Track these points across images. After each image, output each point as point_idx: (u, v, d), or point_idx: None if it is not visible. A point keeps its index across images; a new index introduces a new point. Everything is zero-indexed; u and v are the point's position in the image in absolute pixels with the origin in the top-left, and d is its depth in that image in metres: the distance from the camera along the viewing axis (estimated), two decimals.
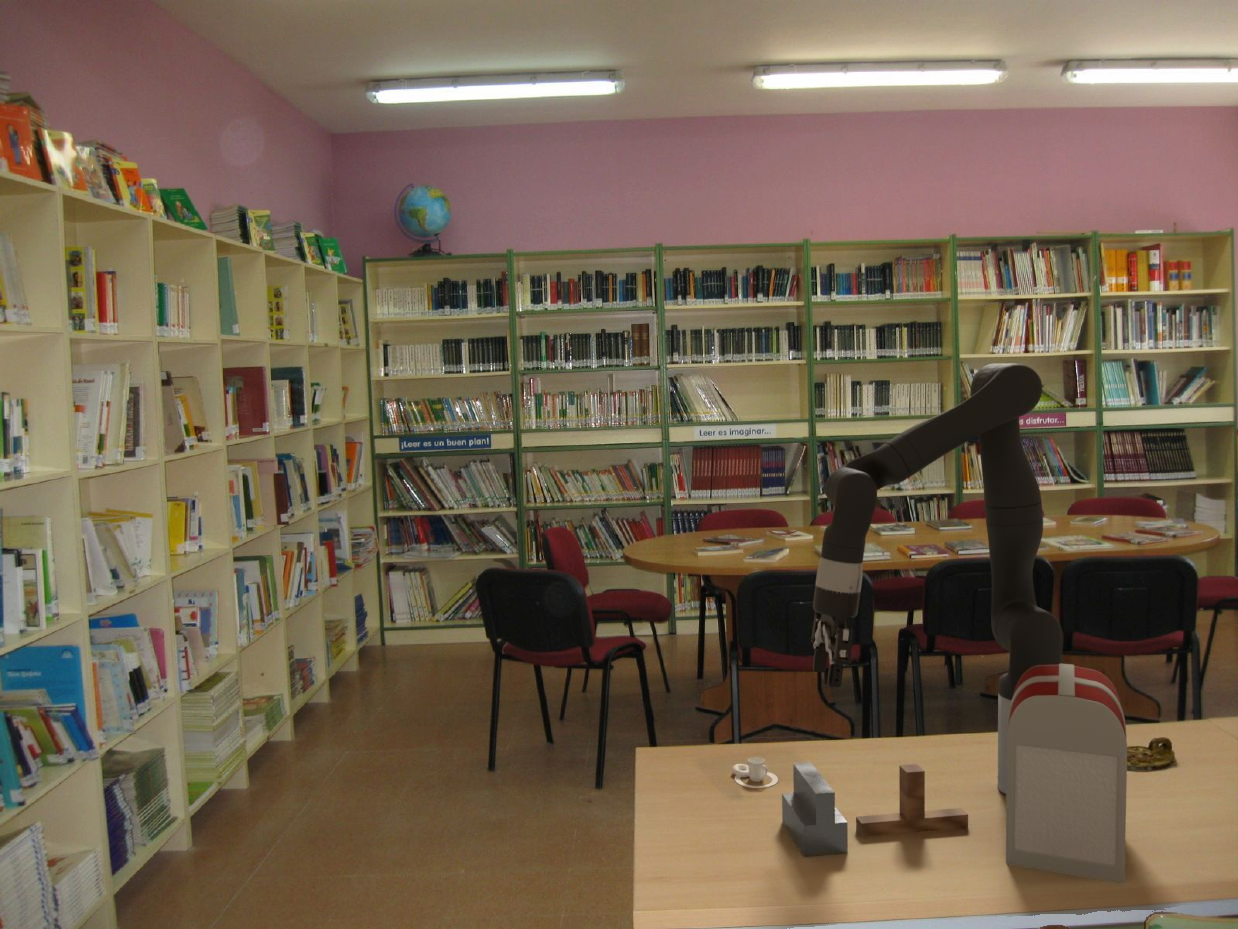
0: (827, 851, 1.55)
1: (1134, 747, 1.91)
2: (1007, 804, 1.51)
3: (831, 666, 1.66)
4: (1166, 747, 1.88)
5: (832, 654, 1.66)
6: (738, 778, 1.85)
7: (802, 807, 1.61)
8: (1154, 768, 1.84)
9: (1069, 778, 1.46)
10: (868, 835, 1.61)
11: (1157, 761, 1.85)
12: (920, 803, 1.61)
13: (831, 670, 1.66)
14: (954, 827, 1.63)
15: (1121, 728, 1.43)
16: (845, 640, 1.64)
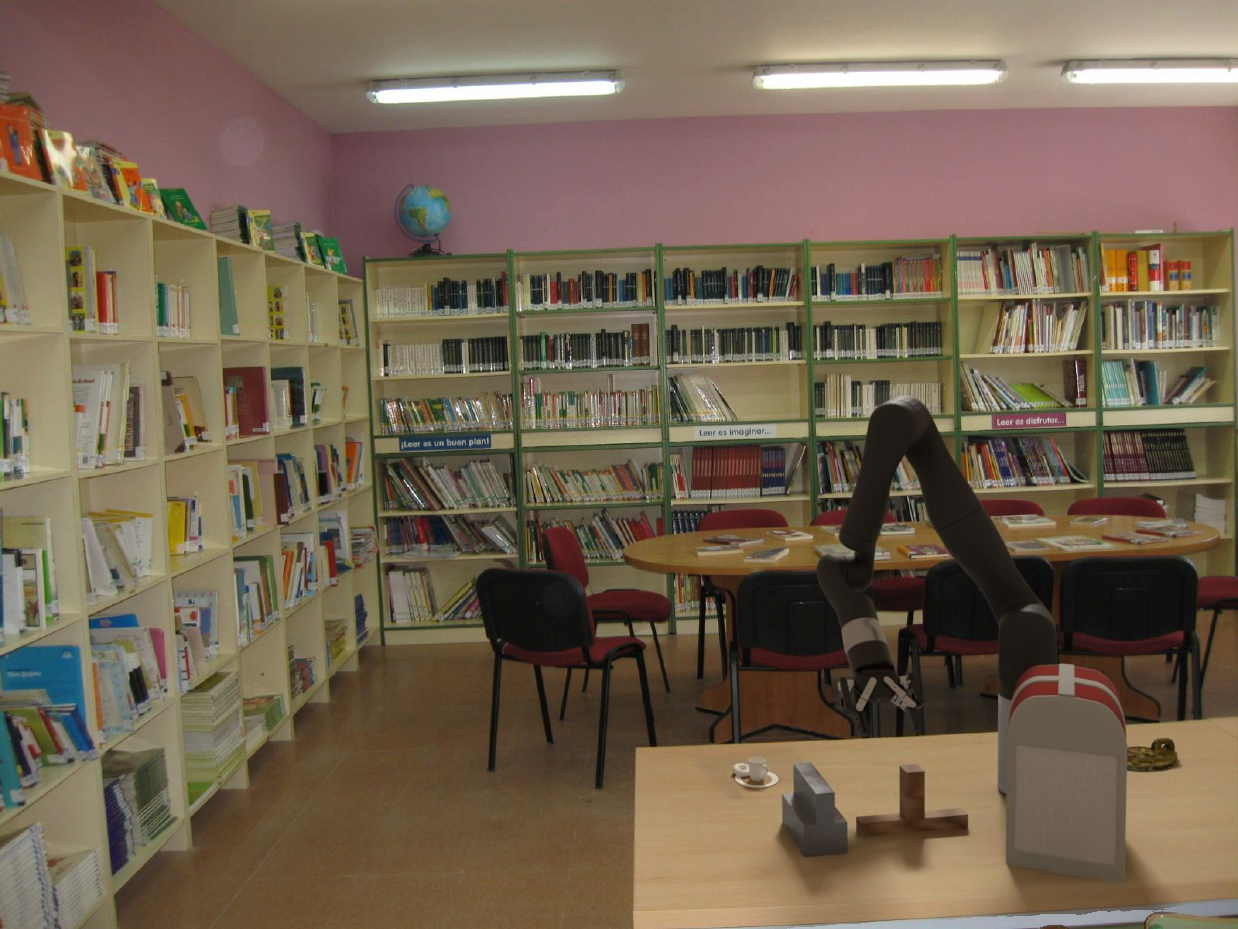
0: (827, 851, 1.55)
1: (1137, 747, 1.91)
2: (1007, 804, 1.51)
3: None
4: (1169, 748, 1.88)
5: None
6: (738, 778, 1.85)
7: (802, 807, 1.61)
8: (1155, 768, 1.83)
9: (1069, 778, 1.46)
10: (868, 835, 1.61)
11: (1159, 762, 1.85)
12: (920, 803, 1.61)
13: None
14: (954, 827, 1.63)
15: (1121, 728, 1.43)
16: (840, 689, 1.75)
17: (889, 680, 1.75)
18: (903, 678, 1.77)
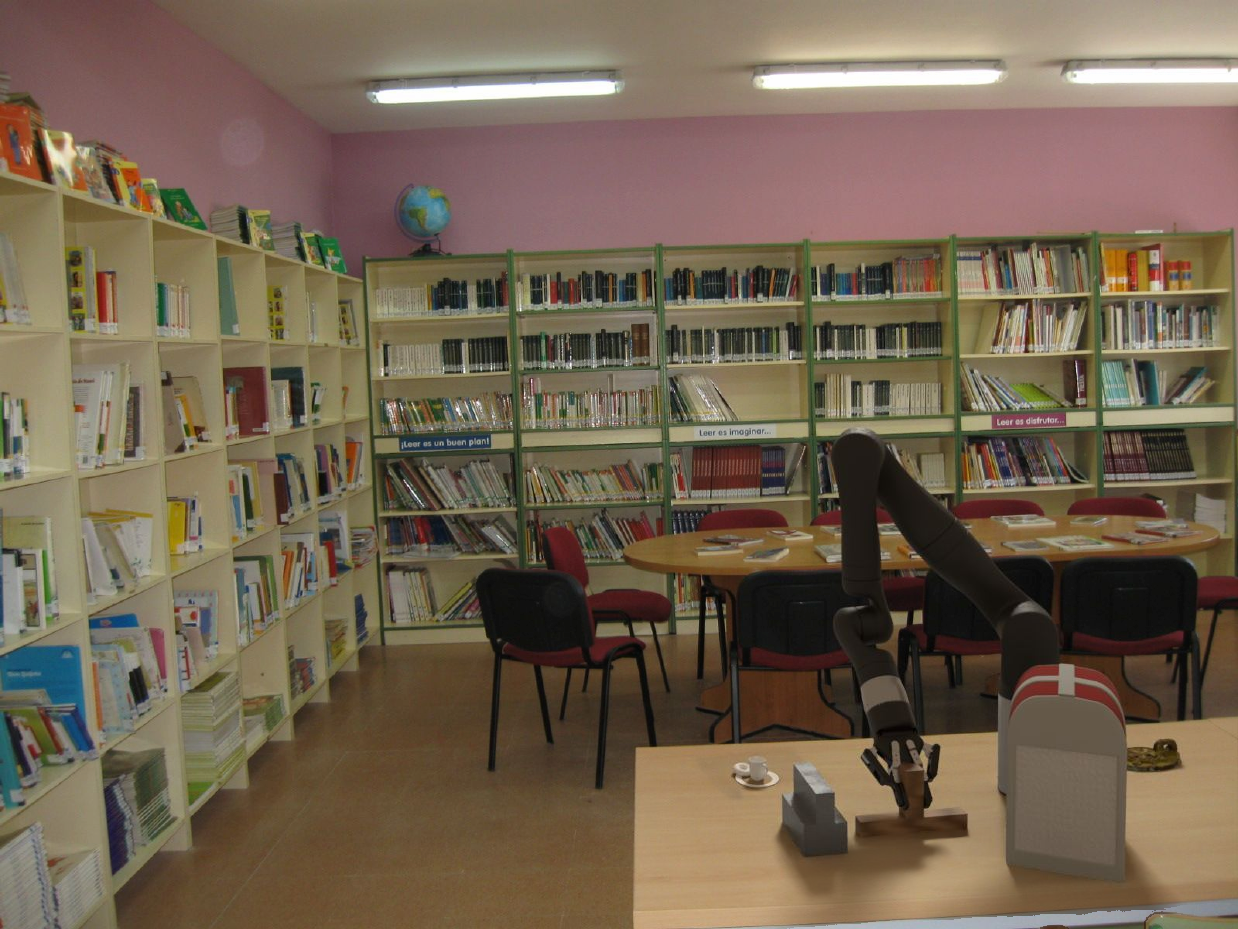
0: (827, 851, 1.55)
1: (1139, 748, 1.90)
2: (1007, 804, 1.51)
3: None
4: (1171, 748, 1.87)
5: None
6: (739, 777, 1.85)
7: (802, 807, 1.61)
8: (1157, 769, 1.83)
9: (1069, 778, 1.46)
10: (867, 834, 1.61)
11: (1160, 762, 1.84)
12: (919, 802, 1.61)
13: None
14: (953, 826, 1.63)
15: (1121, 728, 1.43)
16: (868, 762, 1.65)
17: (912, 745, 1.65)
18: (927, 746, 1.67)
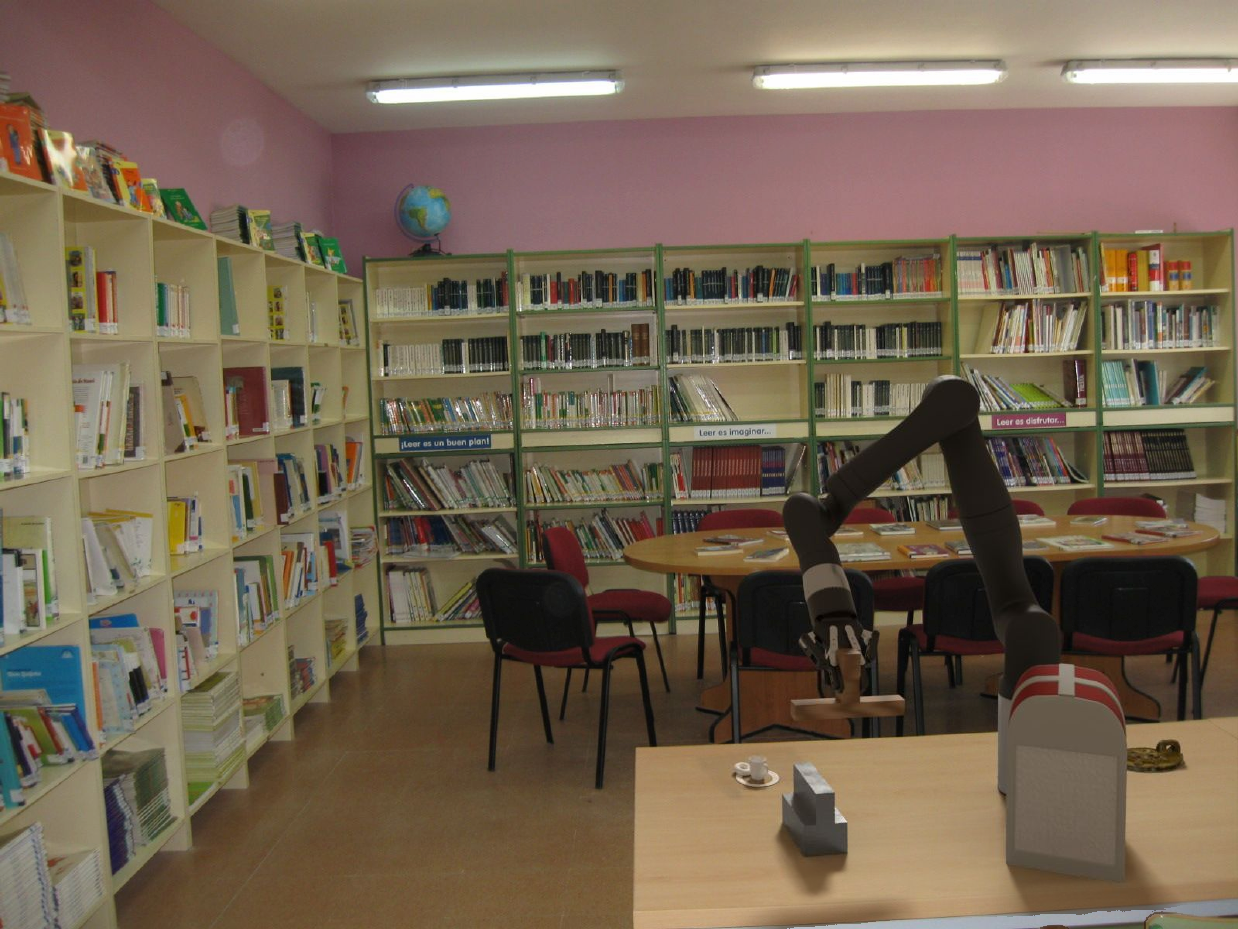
0: (827, 851, 1.55)
1: (1142, 748, 1.90)
2: (1007, 804, 1.51)
3: None
4: (1174, 749, 1.87)
5: None
6: (739, 777, 1.86)
7: (802, 807, 1.61)
8: (1158, 769, 1.83)
9: (1069, 778, 1.46)
10: (802, 717, 1.58)
11: (1162, 763, 1.84)
12: (856, 687, 1.58)
13: None
14: (890, 712, 1.60)
15: (1121, 728, 1.43)
16: (805, 646, 1.62)
17: (850, 630, 1.63)
18: (867, 632, 1.64)
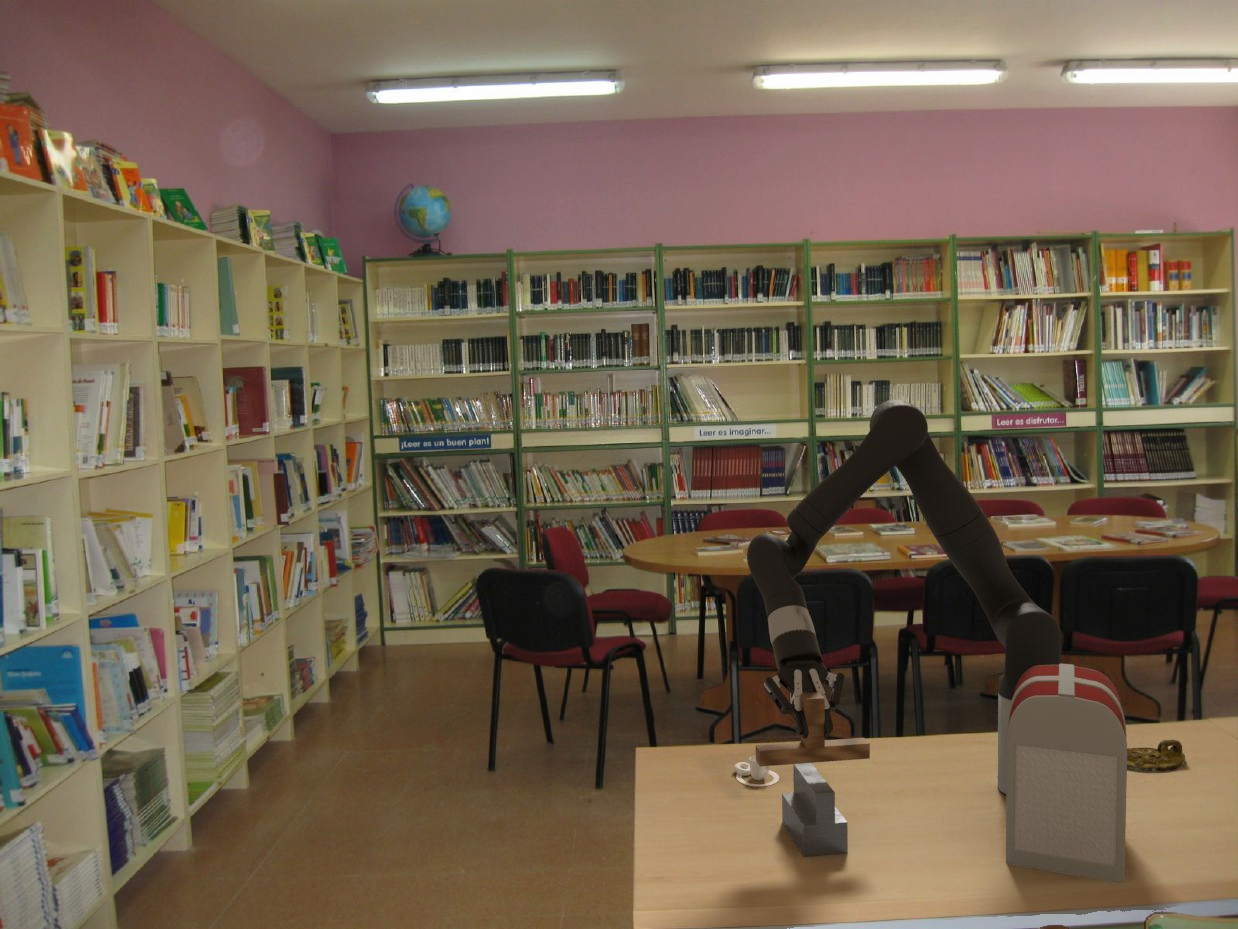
0: (827, 851, 1.55)
1: (1144, 748, 1.90)
2: (1007, 804, 1.51)
3: None
4: (1176, 750, 1.87)
5: None
6: (739, 776, 1.86)
7: (802, 807, 1.61)
8: (1159, 769, 1.83)
9: (1069, 778, 1.46)
10: (766, 763, 1.58)
11: (1163, 763, 1.84)
12: (820, 731, 1.58)
13: None
14: (855, 756, 1.60)
15: (1121, 728, 1.43)
16: (770, 691, 1.62)
17: (815, 673, 1.62)
18: (831, 675, 1.64)
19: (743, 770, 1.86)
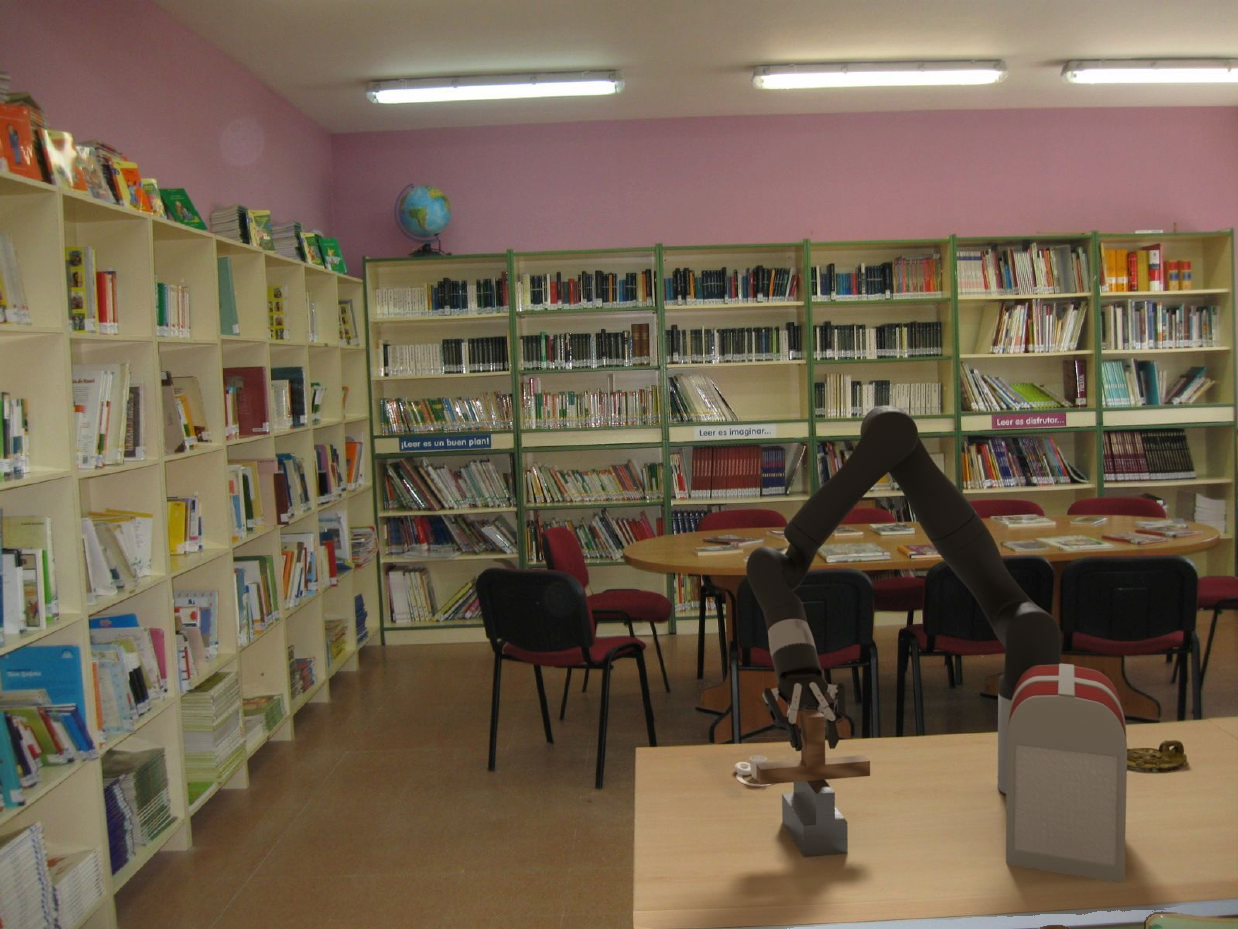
0: (827, 851, 1.55)
1: (1145, 749, 1.90)
2: (1007, 804, 1.51)
3: None
4: (1177, 750, 1.86)
5: None
6: (740, 776, 1.86)
7: (802, 807, 1.61)
8: (1160, 770, 1.83)
9: (1069, 778, 1.46)
10: (767, 781, 1.58)
11: (1164, 764, 1.84)
12: (821, 749, 1.59)
13: None
14: (856, 774, 1.60)
15: (1121, 728, 1.43)
16: (767, 702, 1.62)
17: (815, 687, 1.63)
18: (832, 687, 1.64)
19: (743, 770, 1.86)
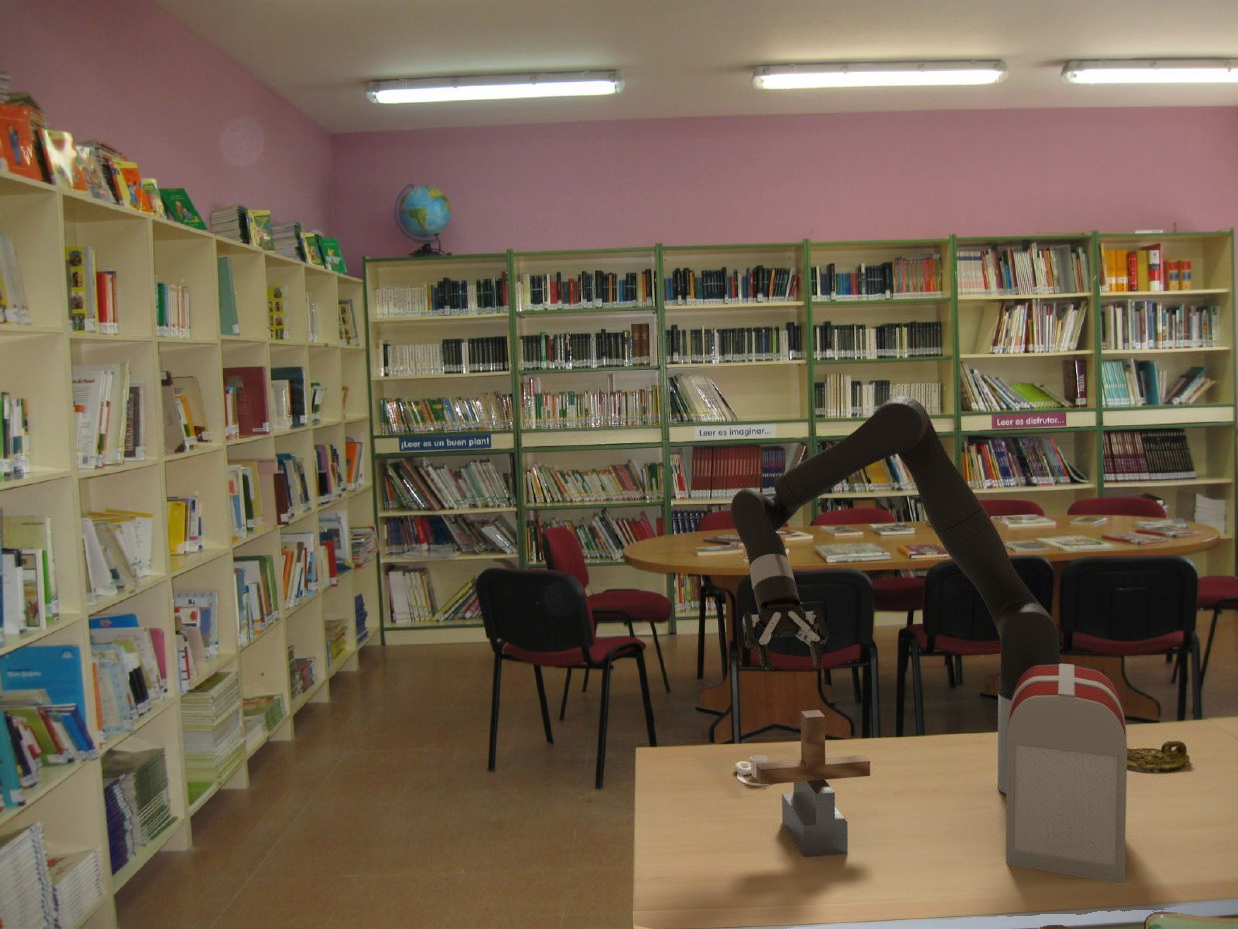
0: (827, 851, 1.55)
1: (1148, 749, 1.89)
2: (1007, 804, 1.51)
3: None
4: (1180, 751, 1.86)
5: None
6: (740, 776, 1.86)
7: (802, 807, 1.61)
8: (1161, 770, 1.82)
9: (1069, 778, 1.46)
10: (767, 781, 1.58)
11: (1166, 764, 1.84)
12: (821, 749, 1.59)
13: None
14: (856, 774, 1.60)
15: (1121, 728, 1.43)
16: (744, 624, 1.74)
17: (794, 614, 1.73)
18: (809, 613, 1.75)
19: (744, 769, 1.86)
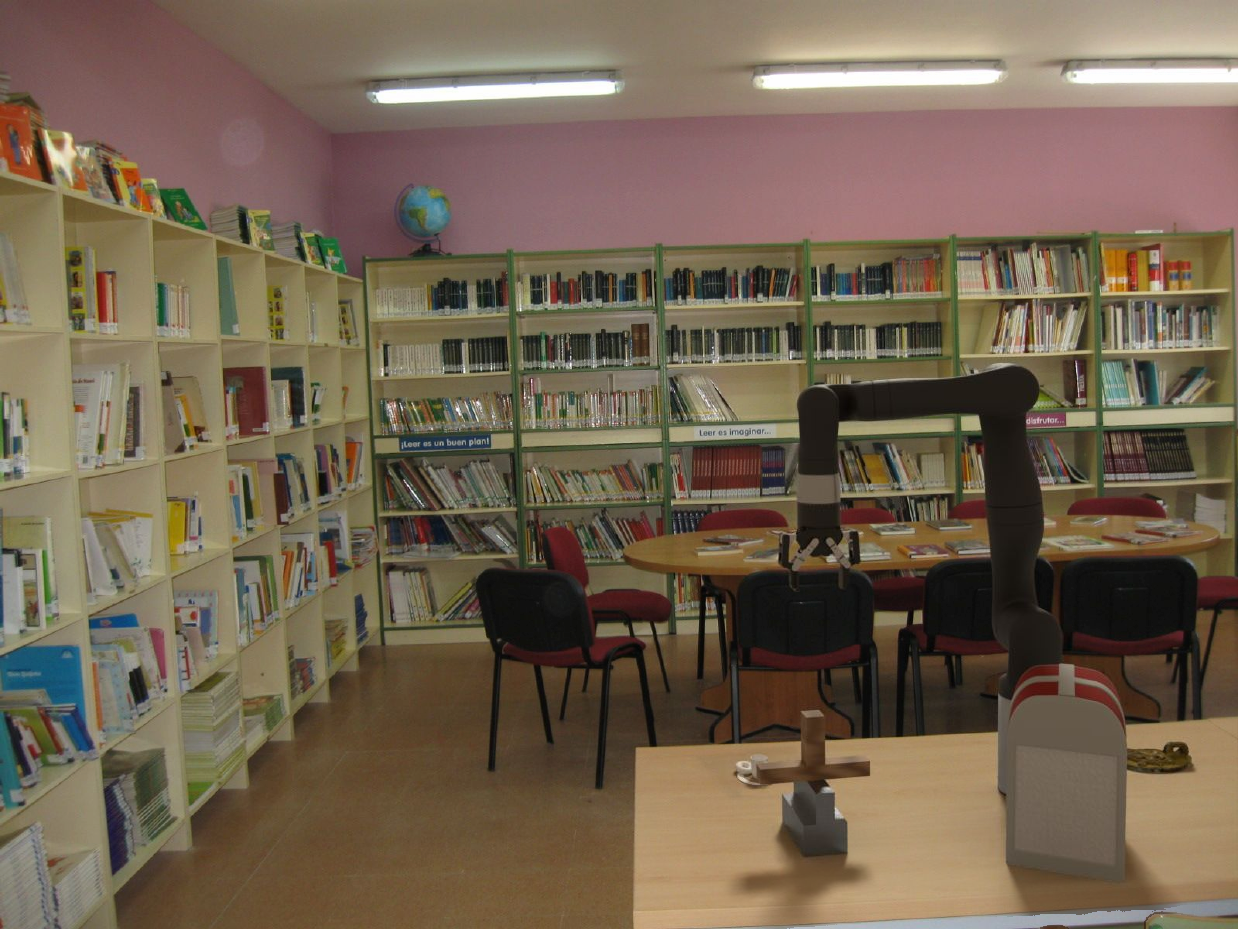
0: (827, 851, 1.55)
1: (1150, 750, 1.89)
2: (1007, 804, 1.51)
3: None
4: (1182, 752, 1.86)
5: (791, 559, 1.77)
6: (740, 775, 1.86)
7: (802, 807, 1.61)
8: (1162, 771, 1.82)
9: (1069, 778, 1.46)
10: (767, 781, 1.58)
11: (1167, 765, 1.83)
12: (821, 749, 1.59)
13: None
14: (856, 774, 1.60)
15: (1121, 728, 1.43)
16: (781, 543, 1.76)
17: (831, 542, 1.75)
18: (846, 534, 1.76)
19: (744, 769, 1.87)
